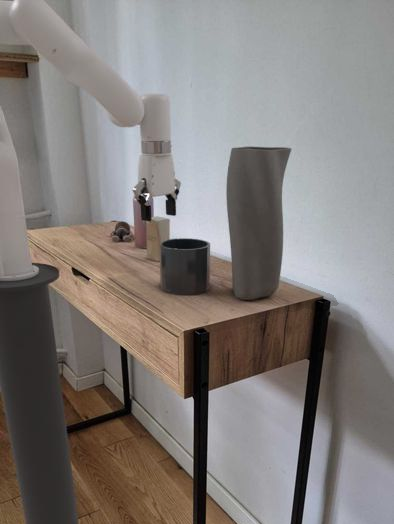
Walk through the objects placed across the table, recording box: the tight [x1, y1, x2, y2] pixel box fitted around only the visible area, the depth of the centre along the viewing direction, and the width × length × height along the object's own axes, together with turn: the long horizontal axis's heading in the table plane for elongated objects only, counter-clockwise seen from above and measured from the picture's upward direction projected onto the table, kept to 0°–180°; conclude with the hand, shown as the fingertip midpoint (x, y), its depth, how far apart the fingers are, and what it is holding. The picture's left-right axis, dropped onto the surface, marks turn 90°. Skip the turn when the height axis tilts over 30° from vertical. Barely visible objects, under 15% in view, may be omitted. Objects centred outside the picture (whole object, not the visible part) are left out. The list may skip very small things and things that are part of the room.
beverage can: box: [132, 194, 155, 249], centre depth 144 cm, size 6×6×15 cm
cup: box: [159, 237, 211, 296], centre depth 109 cm, size 11×11×10 cm
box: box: [146, 216, 171, 262], centre depth 132 cm, size 5×4×11 cm
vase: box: [225, 146, 292, 301], centre depth 100 cm, size 12×12×30 cm
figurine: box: [108, 221, 135, 243], centre depth 156 cm, size 8×5×10 cm
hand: (159, 217), depth 130 cm, fingers open, 9 cm apart
